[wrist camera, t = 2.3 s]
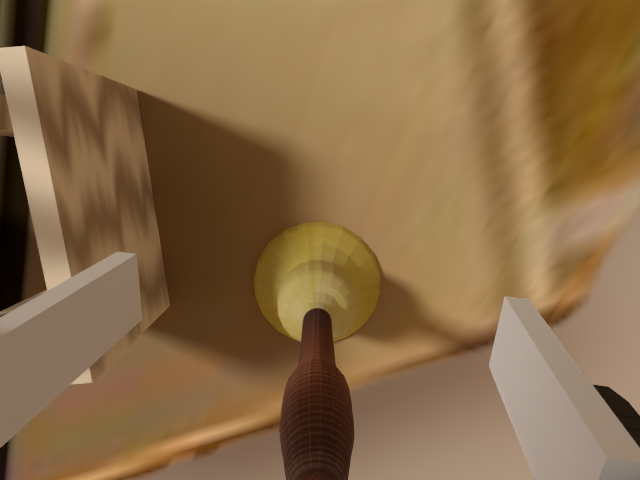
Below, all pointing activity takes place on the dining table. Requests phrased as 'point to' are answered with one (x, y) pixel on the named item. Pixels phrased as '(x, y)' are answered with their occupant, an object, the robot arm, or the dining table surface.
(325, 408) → the handbell
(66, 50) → the dining table surface
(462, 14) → the dining table surface
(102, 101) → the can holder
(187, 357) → the dining table surface
